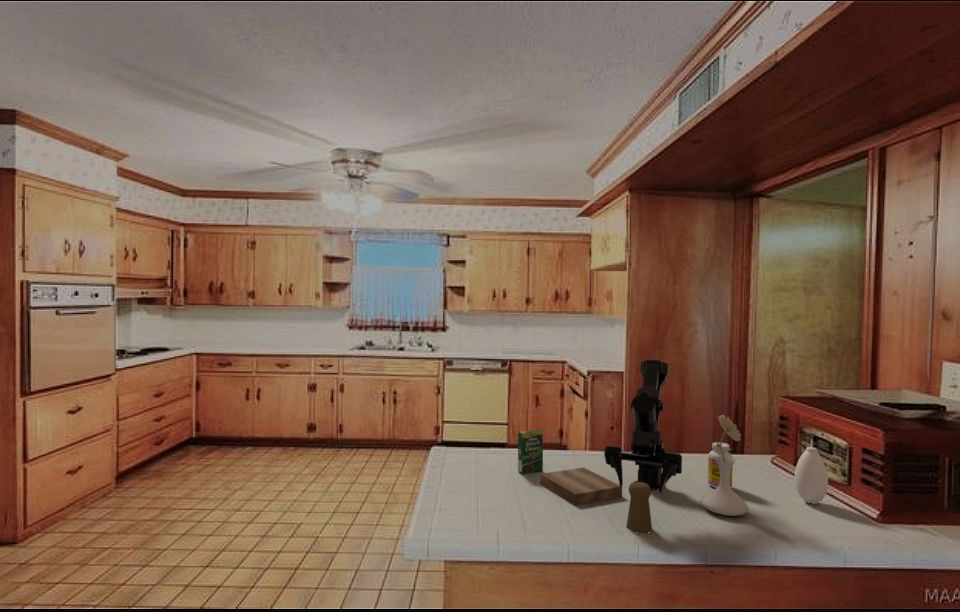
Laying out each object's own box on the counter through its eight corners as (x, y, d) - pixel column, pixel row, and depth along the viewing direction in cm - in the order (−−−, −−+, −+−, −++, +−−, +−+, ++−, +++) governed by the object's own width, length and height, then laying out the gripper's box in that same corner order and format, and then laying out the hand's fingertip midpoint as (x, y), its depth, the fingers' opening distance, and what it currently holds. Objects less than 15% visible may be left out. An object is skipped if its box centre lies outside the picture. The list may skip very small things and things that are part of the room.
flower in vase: (752, 522, 130) (754, 423, 129) (703, 516, 133) (705, 419, 133) (742, 503, 142) (744, 413, 142) (697, 498, 145) (699, 410, 145)
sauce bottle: (825, 501, 145) (827, 437, 145) (829, 510, 138) (830, 443, 138) (793, 495, 149) (794, 433, 149) (795, 504, 142) (796, 439, 142)
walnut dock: (583, 476, 162) (583, 467, 162) (622, 496, 146) (622, 486, 146) (540, 483, 155) (540, 473, 155) (575, 505, 139) (575, 494, 139)
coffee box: (521, 474, 164) (521, 433, 164) (516, 471, 166) (517, 431, 166) (543, 471, 167) (543, 431, 167) (538, 468, 170) (539, 429, 169)
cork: (652, 525, 127) (653, 480, 127) (652, 535, 121) (652, 489, 121) (626, 521, 129) (627, 477, 129) (625, 531, 123) (626, 485, 123)
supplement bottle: (708, 488, 153) (708, 445, 153) (707, 481, 160) (708, 440, 159) (733, 492, 151) (733, 448, 151) (731, 485, 157) (732, 442, 157)
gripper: (606, 414, 135) (598, 468, 125) (682, 421, 128) (681, 479, 118) (609, 437, 142) (602, 490, 132) (682, 445, 135) (681, 501, 125)
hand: (640, 490), depth 127 cm, fingers open, 9 cm apart
